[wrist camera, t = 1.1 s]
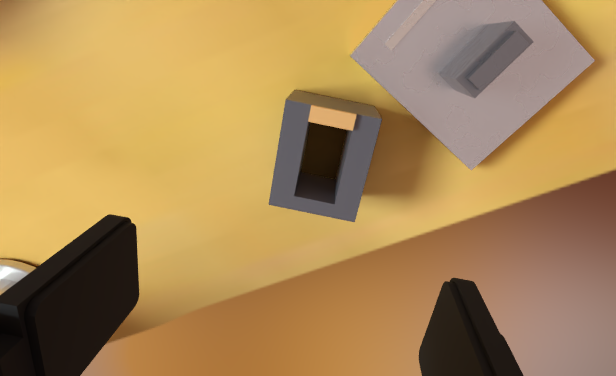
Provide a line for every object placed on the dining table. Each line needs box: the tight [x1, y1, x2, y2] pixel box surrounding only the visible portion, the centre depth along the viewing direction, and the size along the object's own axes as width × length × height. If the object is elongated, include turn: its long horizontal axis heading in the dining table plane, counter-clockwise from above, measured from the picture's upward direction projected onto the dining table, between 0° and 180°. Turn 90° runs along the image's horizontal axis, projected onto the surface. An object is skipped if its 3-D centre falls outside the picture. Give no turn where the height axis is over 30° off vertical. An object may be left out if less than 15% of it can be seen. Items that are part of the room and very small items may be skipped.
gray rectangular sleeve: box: [269, 90, 382, 222], centre depth 26 cm, size 7×6×5 cm
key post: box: [350, 0, 595, 170], centre depth 23 cm, size 10×12×6 cm
